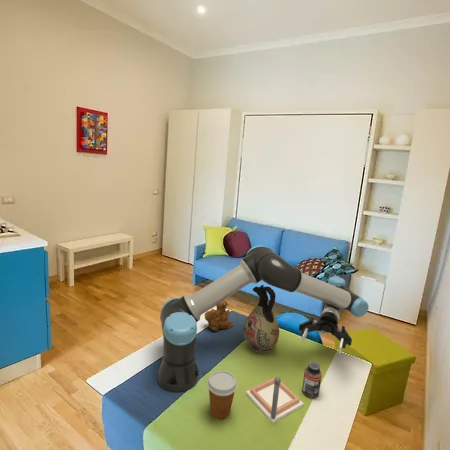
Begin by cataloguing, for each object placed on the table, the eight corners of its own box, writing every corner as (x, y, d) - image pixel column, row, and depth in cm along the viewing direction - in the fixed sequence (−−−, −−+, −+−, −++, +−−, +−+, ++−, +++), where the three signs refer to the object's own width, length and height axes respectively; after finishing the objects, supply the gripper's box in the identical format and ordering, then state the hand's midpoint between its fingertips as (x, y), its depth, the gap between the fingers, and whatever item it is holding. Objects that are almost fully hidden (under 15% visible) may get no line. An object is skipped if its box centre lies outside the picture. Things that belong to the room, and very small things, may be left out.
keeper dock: (272, 423, 97) (277, 381, 94) (245, 393, 109) (249, 355, 105) (303, 405, 105) (308, 366, 102) (275, 380, 116) (279, 343, 113)
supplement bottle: (307, 384, 115) (311, 357, 113) (321, 393, 111) (326, 365, 109) (298, 391, 111) (302, 364, 109) (313, 401, 107) (317, 373, 105)
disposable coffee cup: (224, 429, 94) (227, 396, 91) (199, 414, 99) (201, 382, 96) (240, 409, 102) (242, 377, 99) (216, 396, 107) (218, 365, 104)
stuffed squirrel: (234, 325, 152) (236, 300, 149) (215, 336, 141) (217, 310, 139) (219, 317, 158) (221, 294, 155) (200, 328, 148) (201, 303, 145)
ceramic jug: (235, 342, 138) (240, 280, 131) (261, 333, 146) (267, 274, 140) (259, 365, 124) (266, 296, 117) (287, 353, 133) (295, 289, 126)
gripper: (358, 335, 130) (355, 364, 112) (300, 319, 141) (287, 343, 122) (361, 319, 128) (358, 346, 110) (301, 304, 139) (289, 326, 120)
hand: (321, 344), depth 116 cm, fingers open, 13 cm apart
